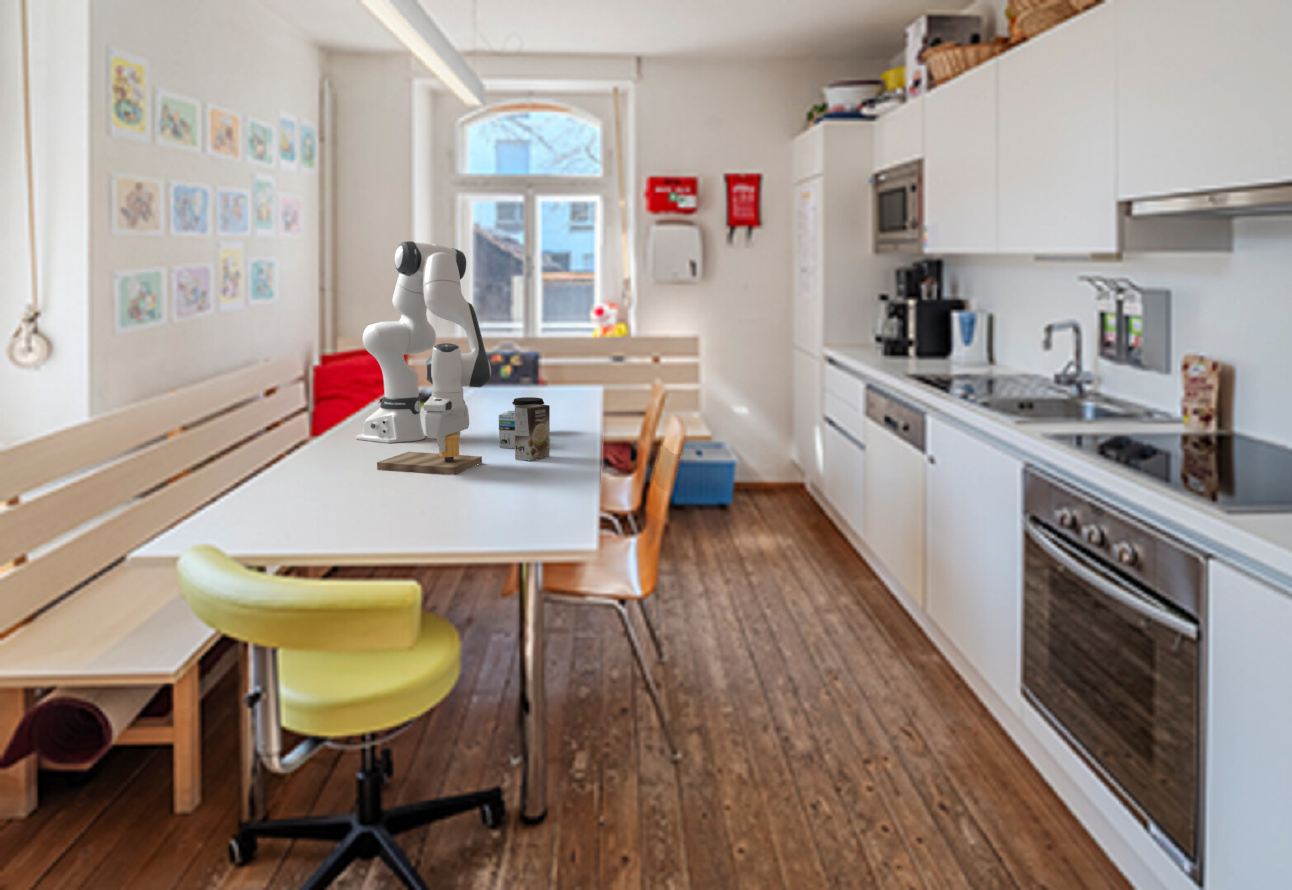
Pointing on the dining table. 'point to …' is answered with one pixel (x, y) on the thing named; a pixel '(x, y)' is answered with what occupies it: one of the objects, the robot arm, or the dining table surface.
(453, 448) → the wire cap
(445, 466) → the wooden peg board
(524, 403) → the coffee cup
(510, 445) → the light bulb box
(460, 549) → the dining table surface
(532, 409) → the coffee box
